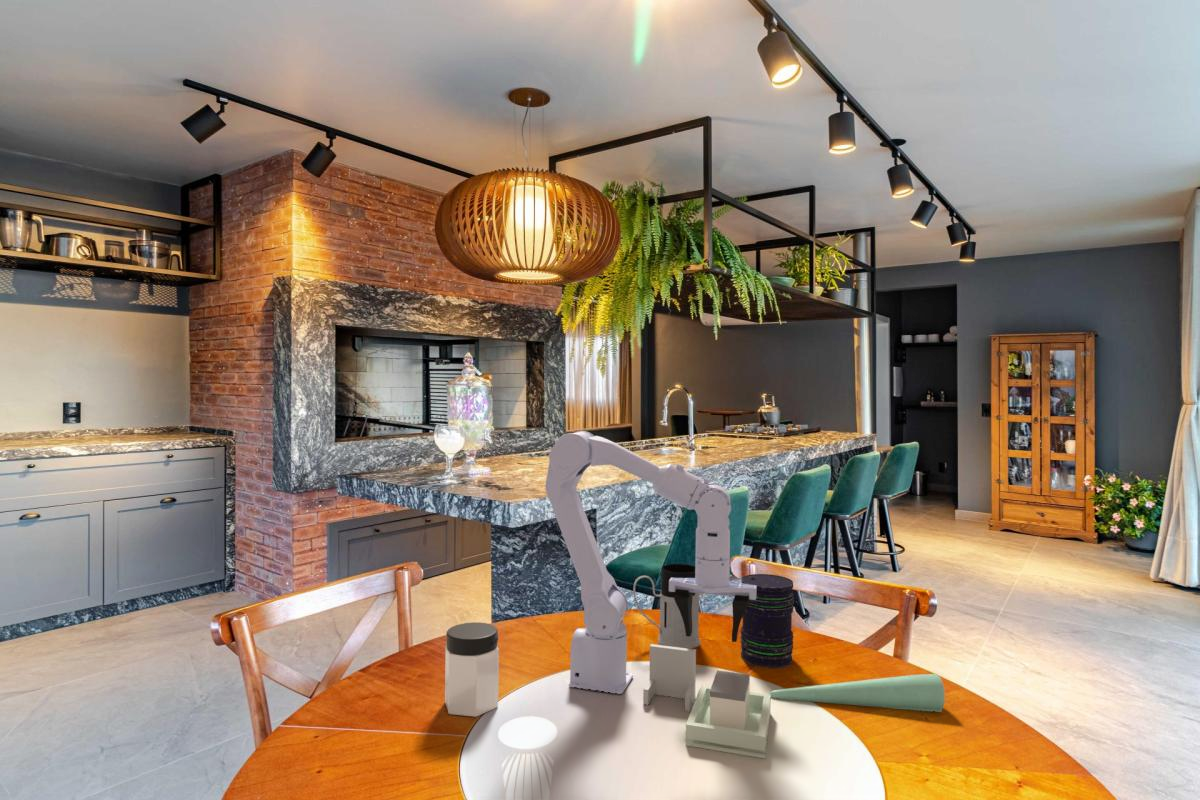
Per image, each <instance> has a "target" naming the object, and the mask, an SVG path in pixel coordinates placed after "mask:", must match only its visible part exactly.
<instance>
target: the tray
mask: <svg viewBox="0 0 1200 800" xmlns="http://www.w3.org/2000/svg"><path fill="white" fill-rule="evenodd" d="M711 687H712V685H711V686H710V685H703V684H701V685H700V687H699V690H698V692H697V694H696V696H695V700H694V703H693V705H692V708H691V710H690V712H689V715H688V719H687V722H686V723H685V746H687V747H694V748H699V749H705V750H712V751H717V752H724V753H730V754H736V755H740V756H747V757H754V758H758V759H764V760H765V759H766V754H767V753H766V751H767V744H768V743H767V742H768V737H769V736H768V735H769V727H770V720H771V695H770V693H769V694H768V693H761V692H755V691H749V717H748V722H747V727H746V730H740V729H734V728H727V727H721V726H714V725H710V690H711Z"/></svg>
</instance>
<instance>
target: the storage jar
mask: <svg viewBox="0 0 1200 800" xmlns="http://www.w3.org/2000/svg"><path fill="white" fill-rule="evenodd" d="M741 583H743V584H749V585H756V586H757V592H756V600H751V599H750V600H749V603H748V606H747V608H746V610H745V612H744V614H743V617H742V626H740V642H739V643H740V649H741V652H740V657H741V659H742V660H743V661H744V662H745V663H747V664H750V665H751V666H754V667H755V666H756V667H758V668H759V667H760V668H765V669H780V668H781V669H783V668H786V667H789V666H790V665H791V664H792V663H793V657H792V656H793V655H792V654H793V649H794V641H793V640H794V631H793V630H792V627H793V626H792V618H793V617H792V615H793V612H794V609H795V608H794V602H795V599H794V597H795V596H794V589H793V588H794V581H793V580H792V579H790V578H788V577H785V576H782V575H777V574H776V575H775V574H768V573H754V574H753V573H752V574H747V575H745V576H742V578H741Z"/></svg>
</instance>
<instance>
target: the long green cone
mask: <svg viewBox="0 0 1200 800" xmlns="http://www.w3.org/2000/svg"><path fill="white" fill-rule="evenodd" d="M769 695H771V697H772V699H777V698H781V699H780V700H787V699H793V700H792V701H799V700H804V701H803V702H813V703H826V704H838V705H847V706H861V707H874V708H884V709H885V708H886V709H897V710H900V709H901V710H908V709H909V710H910V711H911V710H912V711H920V710H921V711H923V712H933V711H935V712H936V713H942V710H943V708H944V705H945V702H946V701H945V700H946V698H945V696H946V694H945V687H944V683H943V680H942V678H941V677H940V674H938V673H929V674H927V673H925V674H924V673H923V674H909V675H902V676H901V675H900V676H891V677H882V678H871V679H865V680H864V679H863V680H852V681H844V682H835V683H827V684H818V685H817V684H815V685H806V686H798V687H790V688H782V689H774V690H771V691H770V693H769ZM935 712H934V713H935Z"/></svg>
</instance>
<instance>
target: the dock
mask: <svg viewBox="0 0 1200 800" xmlns="http://www.w3.org/2000/svg"><path fill="white" fill-rule="evenodd" d="M696 662H697V649H695V648H691V649H687V648H679V647H671V646H663V645H661V644H653V643H651V644H650V645H649V679H648V680H647V683H646V684H645V685H644V688H643V689H642V690H643V693H642V695H643V697H642V700H643V701H642V702H643V703H642V704H646V705H645V706H649V705H650V703H649V702H651V701H652V699H653V697H654V696H655V694H658V695H657V696H662V695H665V696H664V697H668V696H671V697H670V698H675V697H676V699H677V698H678V699H682V698H683V699H684V712H689V713H691V710H692V708H693V705H694V702H695V700H696V682H697V681H696V679H697V678H696V675H697V674H696V672H697V669H696V667H697V666H696V664H697V663H696ZM651 698H652V699H651ZM683 699H682V700H683ZM650 700H651V701H650ZM648 704H649V705H648Z"/></svg>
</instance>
